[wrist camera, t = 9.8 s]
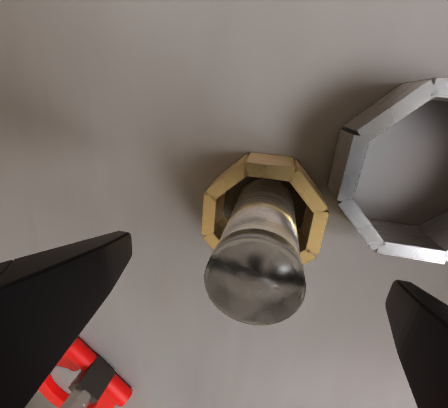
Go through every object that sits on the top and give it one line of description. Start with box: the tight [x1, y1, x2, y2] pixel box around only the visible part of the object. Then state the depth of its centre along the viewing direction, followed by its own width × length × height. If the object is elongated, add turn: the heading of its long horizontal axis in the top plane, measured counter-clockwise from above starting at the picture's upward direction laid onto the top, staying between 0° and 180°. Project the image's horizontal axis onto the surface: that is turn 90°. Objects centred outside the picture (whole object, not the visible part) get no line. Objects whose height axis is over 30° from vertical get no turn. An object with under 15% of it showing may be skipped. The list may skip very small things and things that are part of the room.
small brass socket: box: [202, 152, 329, 264], centre depth 13 cm, size 6×6×2 cm
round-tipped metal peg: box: [204, 179, 306, 325], centre depth 11 cm, size 3×3×7 cm
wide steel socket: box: [328, 78, 448, 264], centre depth 11 cm, size 7×7×2 cm
